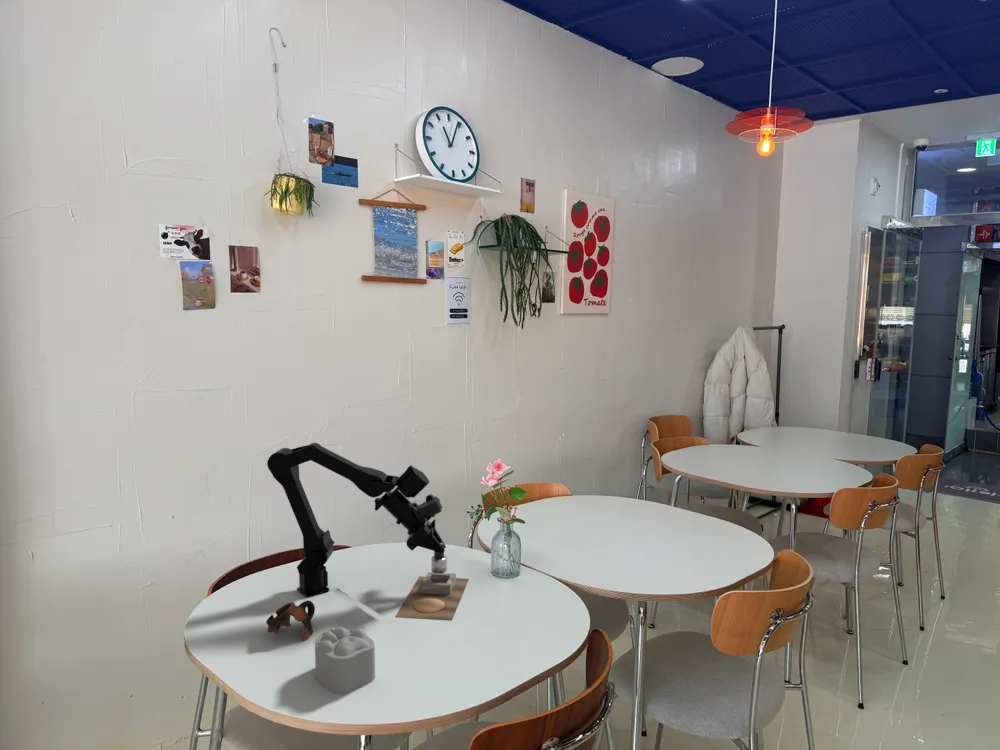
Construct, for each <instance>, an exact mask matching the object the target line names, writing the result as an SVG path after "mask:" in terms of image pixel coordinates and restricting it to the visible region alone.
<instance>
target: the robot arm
mask: <svg viewBox="0 0 1000 750" xmlns="http://www.w3.org/2000/svg"><path fill="white" fill-rule="evenodd" d="M267 459H268V460H267V469H268V470H269V472H270V473H271V475H272V477H273V478H274V479H275V480H276V481H277V482H278V483H279V484H280V485H281V487H282V488H283V491H284V492H285V493H284V494H285V495H286V498H287V500H288V503H289V506H290V507H291V510H292V512H293V515H294V517H295V520H296V522H297V524H298V527H299V529H300V532H301V534H302V544H303V548H302V549H303V553H304V557H303V558H302V560H301V561H300V562H299V564H298V565H297V567H296V569H297V572H298V577H299V581H298V582H299V583H298V584H299V585H298V586H299V587H296V590H297V591H298V592H299V593H301V594H302V595H303V596H305V597H306V598H309V597H313V596H317V595H320V594H322V593H326V592H327V593H328V592H330V588H329V587H328V586H329V578H328V577H329V574H328V571H327V566H325V564H326V563H327V562H328V560H329V559H330V558H331V556H332V554H333V552H334V544H335V541H334V540H333V538H332V536H331V532H330V530H325V531H324V530H323V529H322V528H321V527H320V526H319V523H318V521H317V519H316V516H315V514H314V511H313V509H312V507H311V504H310V502H309V499H308V496H307V494H306V491H305V489H304V487H303V484H302V482H301V480H300V478H301V477H300V465H301V464H304V463H307V462H309V461H312V462H314V463H316V464H317V465H320V466H322V467H324V468H326V469H328V470H329V471H331V472H333V473H335V474H337V475H339V476H341V477H343V478H345V479H347V480H349V481H350V482H351V483H353V484H354V486H356V488H358V489H359V490H360V491H361V492H362V493H364V494H365V495H367V496H368V497H370V498H375V499H374V510H375V511H378V510H380V508H381V507H383V508H384V509H385V510H386V511H387V512H388V513H389V514H390V515H392V517H393V518H394V519H395V520H396V522H395V523H396V524H397V525H400V524H401V525H402V527H404V528H405V529H406V530H407V535H408V537H407V540H406V547H407V548H408V549H409V550H411V552H412V551H414V550H415V549H416V548H418V547H421V548H423V549H427V550H430V551H433V552H434V551H436V552H438V553H441V554H442V553H444V554H445V551H446V550H445V549H446V548H447V546H446V545H445V543H444V548H443V547H442V546H441V544H440V543H439V542H438V541H440V542H444V541H443V539H442V538H441V536H440V534H439V533H438V531H437V529H436V519H433V520H432V521H430V519H432V518H435V516H436V515H437V514H439V513H441V512H442V509H443V506H442V504H441V502H440V501H441V500H440V498H438V497H437V496H435V495H433V494H432V493H430V494H427V495H426V497H425V501H423V502H422V503H420V504H418V503H417V502H414V501H410V500H409V499H411V498H415V497H417V495H418V494H420V493H421V492H422V490H424V489H425V488H426V487H427V486H428V485H429V484H430V480H429V478H428V477H427V476H426V474H425V473H424V472H423V471H421V470H419V469H418V468H416V467H414V466H413V465H412V464H411V465H409V466H408V467H407V468H406V470H405V471H404V472H403V473H401V474H400V475H399V476H397V475H389V474H386V473H385V472H384V471H382V470H379V469H376V468H373V467H366V466H362V465H359V464H356V463H355V462H353V461H351V460H350V459H347V458H345V457H344V456H341V455H339V454H337V453H335V452H334V451H331V450H330V449H328V448H326V447H324V446H322V445H321V444H320V443H319V442H312V443H310V444H307V445H302V446H297V447H294V448H292V449H291V448H288V447H283V448H280V449H279V450H277V451H275V452H274V453H272V454H271V455H270V456H269V457H268V458H267ZM381 495H382V496H381ZM380 496H381V497H380Z"/></svg>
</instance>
